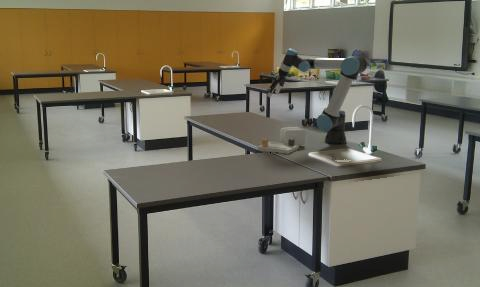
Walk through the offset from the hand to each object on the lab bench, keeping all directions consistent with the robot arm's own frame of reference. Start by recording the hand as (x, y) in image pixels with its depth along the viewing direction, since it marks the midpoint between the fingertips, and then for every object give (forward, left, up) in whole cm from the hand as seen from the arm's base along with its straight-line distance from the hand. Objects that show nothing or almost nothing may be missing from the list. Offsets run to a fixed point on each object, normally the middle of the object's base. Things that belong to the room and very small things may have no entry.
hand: (272, 94), depth 388 cm
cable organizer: (-24, +18, -31) cm, 44 cm away
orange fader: (-15, +42, -28) cm, 53 cm away
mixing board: (-22, +37, -31) cm, 53 cm away
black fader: (-29, +31, -28) cm, 51 cm away
